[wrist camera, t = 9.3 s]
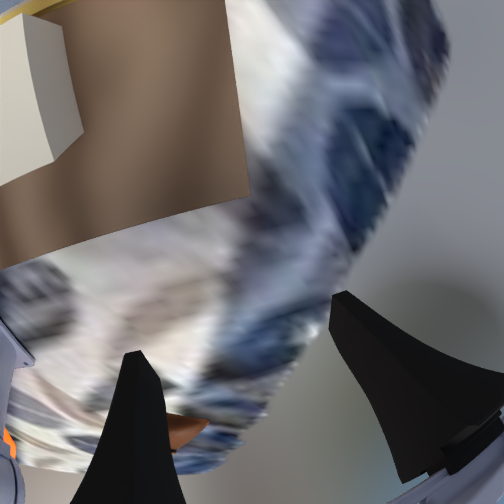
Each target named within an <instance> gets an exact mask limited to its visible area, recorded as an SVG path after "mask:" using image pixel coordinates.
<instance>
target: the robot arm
mask: <svg viewBox="0 0 504 504" xmlns="http://www.w3.org/2000/svg"><path fill="white" fill-rule="evenodd" d="M329 331H330V333H331V336H332V338H333V340H334V342H335V345H336V347H337V349H338V350H339V353H340V354H341V356H342V357H343V359H344V361H345V362H346V364H347V365H348V367H349V369H350V370H351V372H352V373H353V375H354V377H355V378H356V380H357V381H358V383H359V384H360V386H361V388H362V389H363V391H364V392H365V394H366V396H367V398H368V400H369V401H370V403H371V405H372V408H373V410H374V412H375V414H376V416H377V418H378V421H379V423H380V425H381V428H382V430H383V433H384V435H385V438H386V440H387V443H388V445H389V448H390V451H391V454H392V457H393V460H394V463H395V466H396V469H397V473H398V476H399V478H400V480H401V482H402V484H404V483H406V482H408V481H410V480H412V479H414V478H416V477H418V476H420V475H422V474H424V473H425V472H427V473H428V475H429V478H427V479H426V480H424V481H423V482H421V483H420V484H418V485H416V486H415V487H413V488H412V489H410V490H408V491H407V492H405V493H403V494H402V495H400V496H398V497H396V498H395V499H393V500H391V501H389V502H387V503H386V504H416V503H418V502H420V504H496V503H497V502H498V501H499V499H500V498H501V497H502V496H503V494H504V416H503V417H502V418H499V416H500V415H501V414H502V412H501V411H500V409H501V408H502V407H503V406H504V373H500V372H495V371H492V370H487V369H484V368H481V367H477V366H474V365H471V364H468V363H466V362H463V361H461V360H458V359H456V358H453V357H451V356H448V355H446V354H444V353H442V352H440V351H438V350H436V349H434V348H432V347H430V346H428V345H426V344H424V343H422V342H421V341H419V340H417V339H416V338H414V337H412V336H411V335H409V334H408V333H406V332H404V331H403V330H401V329H400V328H398V327H397V326H395V325H394V324H392V323H391V322H389V321H388V320H387V319H385V318H384V317H382V316H381V315H379V314H378V313H377V312H375V311H374V310H373V309H371V308H370V307H368V306H367V305H366V304H365V303H363V302H361V301H360V300H359V299H358V298H356V297H355V296H354V295H352V294H351V293H350V292H348V291H347V290H346V291H343V292H340V293H337V294H334V295H332V302H331V312H330V320H329ZM34 365H35V360H34V359H33V358H32V357H31V356H30V355H29V353H28V352H27V351H26V350H25V349H24V348H23V347H22V346H21V344H20V343H19V342H18V341H17V340H16V339H15V337H14V336H13V335H12V334H11V332H10V331H9V330H8V329H7V328H6V326H5V325H4V324H3V322H2V321H1V320H0V504H24V502H25V484H24V479H23V476H22V473H21V470H20V468H19V465H18V463H17V462H16V460H15V459H14V458H13V457H12V456H11V455H10V452H11V446H10V445H9V444H7V443H6V442H4V430H5V421H6V413H7V405H8V399H9V393H10V387H11V382H12V377H13V372H14V369H17V368H24V367H30V366H34ZM70 504H186V502H185V499H184V496H183V493H182V490H181V487H180V484H179V480H178V477H177V474H176V470H175V466H174V462H173V458H172V452H171V445H170V438H169V430H168V422H167V414H166V405H165V400H164V395H163V390H162V386H161V381H160V378H159V377H158V375H157V374H156V372H155V371H154V369H153V368H152V366H151V365H150V364H149V362H148V361H147V359H146V358H145V356H144V355H143V353H142V352H141V350H138V351H134V352H129V353H125V355H124V357H123V361H122V365H121V369H120V373H119V377H118V381H117V385H116V388H115V392H114V395H113V399H112V403H111V406H110V410H109V413H108V416H107V419H106V422H105V425H104V429H103V432H102V435H101V437H100V440H99V443H98V446H97V448H96V451H95V453H94V456H93V458H92V461H91V463H90V465H89V467H88V470H87V472H86V474H85V477H84V478H83V480H82V482H81V484H80V486H79V488H78V490H77V492H76V494H75V495H74V497H73V499H72V501H71V502H70Z"/></svg>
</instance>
